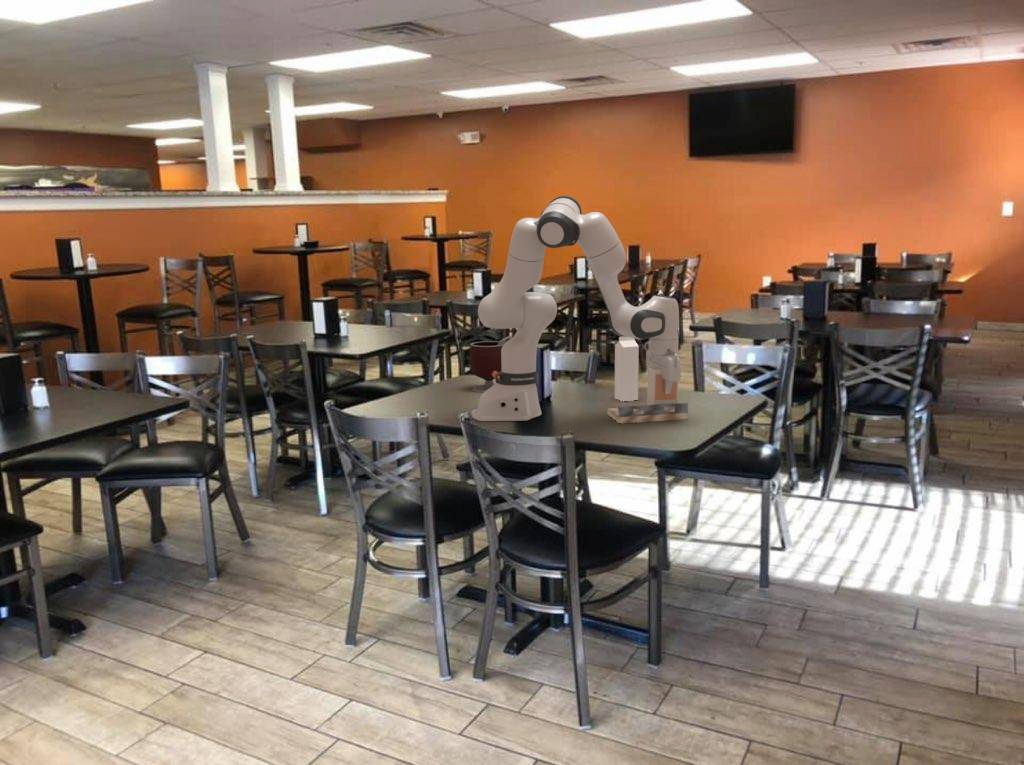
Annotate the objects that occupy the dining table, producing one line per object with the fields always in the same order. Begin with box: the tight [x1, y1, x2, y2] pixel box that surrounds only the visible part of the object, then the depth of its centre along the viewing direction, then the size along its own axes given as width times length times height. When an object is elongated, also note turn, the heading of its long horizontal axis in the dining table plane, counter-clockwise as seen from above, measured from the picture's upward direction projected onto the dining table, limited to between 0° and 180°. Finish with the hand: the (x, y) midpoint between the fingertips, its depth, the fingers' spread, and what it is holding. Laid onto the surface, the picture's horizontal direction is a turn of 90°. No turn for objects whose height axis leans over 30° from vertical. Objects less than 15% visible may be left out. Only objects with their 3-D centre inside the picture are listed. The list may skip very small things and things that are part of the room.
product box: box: [646, 367, 679, 405], centre depth 262 cm, size 8×6×12 cm
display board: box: [607, 402, 689, 424], centre depth 263 cm, size 22×12×5 cm, turn 101°
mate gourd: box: [469, 335, 513, 394], centre depth 308 cm, size 16×14×20 cm
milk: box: [614, 336, 640, 403], centre depth 287 cm, size 6×6×22 cm
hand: (662, 391), depth 262 cm, fingers closed on product box, 6 cm apart
